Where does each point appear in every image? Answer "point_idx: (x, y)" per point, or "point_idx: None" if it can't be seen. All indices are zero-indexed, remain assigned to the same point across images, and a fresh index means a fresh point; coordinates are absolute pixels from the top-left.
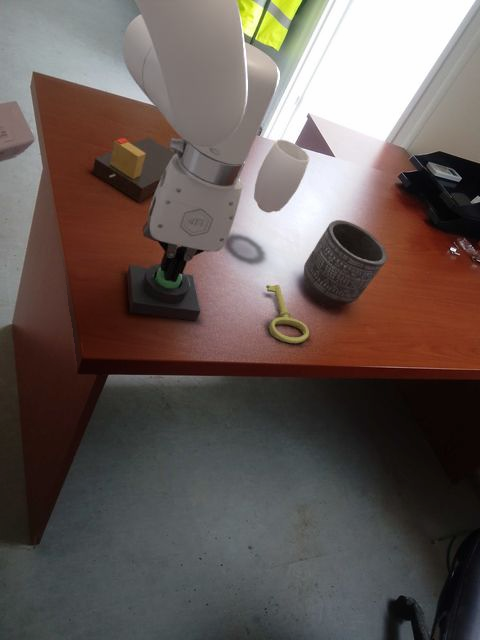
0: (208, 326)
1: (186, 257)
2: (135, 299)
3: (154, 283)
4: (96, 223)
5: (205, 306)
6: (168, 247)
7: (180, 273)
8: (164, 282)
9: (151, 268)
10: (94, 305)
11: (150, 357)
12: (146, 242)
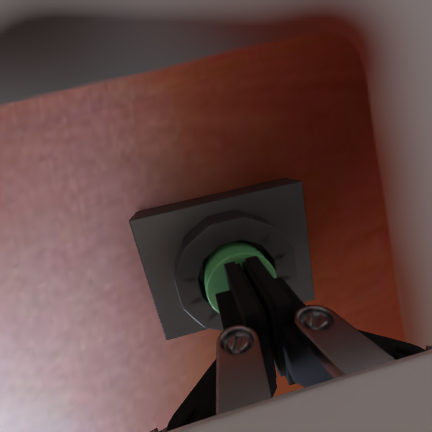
0: (101, 206)
1: (243, 339)
2: (296, 192)
3: (274, 243)
4: None
5: (119, 270)
6: (365, 339)
7: (220, 292)
8: (252, 251)
9: None
10: (351, 172)
11: (229, 51)
12: None
